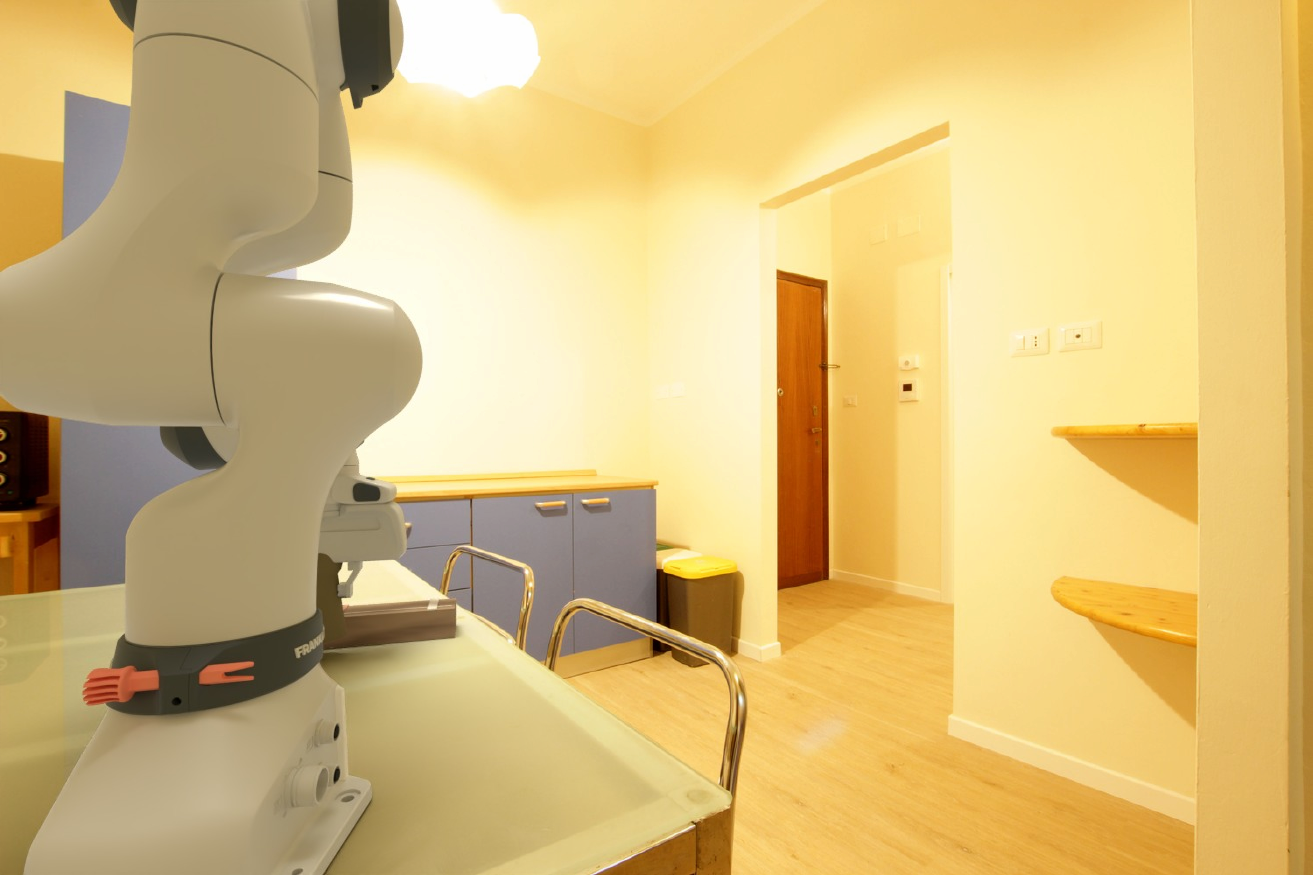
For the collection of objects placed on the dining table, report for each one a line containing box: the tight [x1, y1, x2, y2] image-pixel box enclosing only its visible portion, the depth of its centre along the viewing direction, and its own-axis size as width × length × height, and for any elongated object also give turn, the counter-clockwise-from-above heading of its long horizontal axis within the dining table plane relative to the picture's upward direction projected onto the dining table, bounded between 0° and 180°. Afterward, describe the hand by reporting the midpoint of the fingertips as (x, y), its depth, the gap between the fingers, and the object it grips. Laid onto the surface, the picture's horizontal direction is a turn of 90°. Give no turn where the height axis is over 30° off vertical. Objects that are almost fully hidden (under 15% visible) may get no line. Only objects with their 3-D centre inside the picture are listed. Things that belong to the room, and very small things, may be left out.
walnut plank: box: [323, 597, 457, 650], centre depth 84 cm, size 6×20×4 cm, turn 106°
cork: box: [316, 553, 346, 643], centre depth 76 cm, size 6×6×11 cm
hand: (319, 598), depth 76 cm, fingers closed on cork, 4 cm apart
